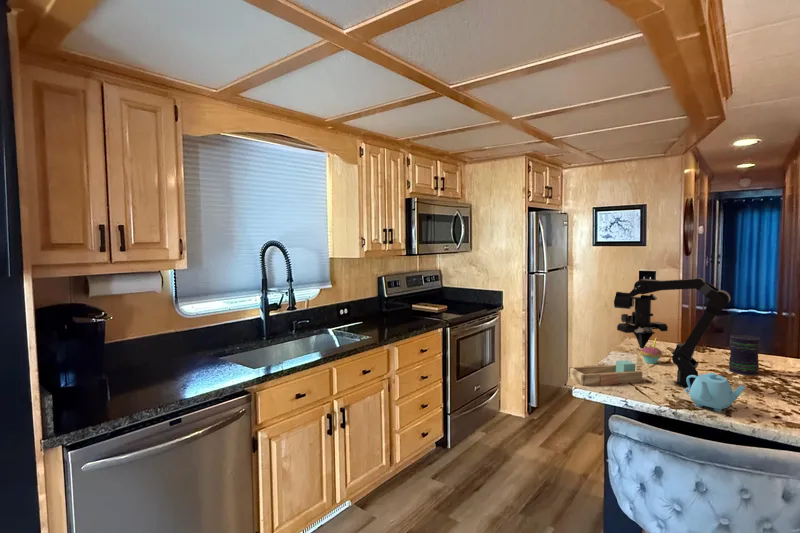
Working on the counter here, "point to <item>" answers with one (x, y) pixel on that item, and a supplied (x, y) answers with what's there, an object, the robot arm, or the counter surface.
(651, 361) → the cupcake
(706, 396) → the teapot
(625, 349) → the counter surface
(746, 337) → the storage jar
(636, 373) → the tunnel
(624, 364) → the block
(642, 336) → the robot arm
